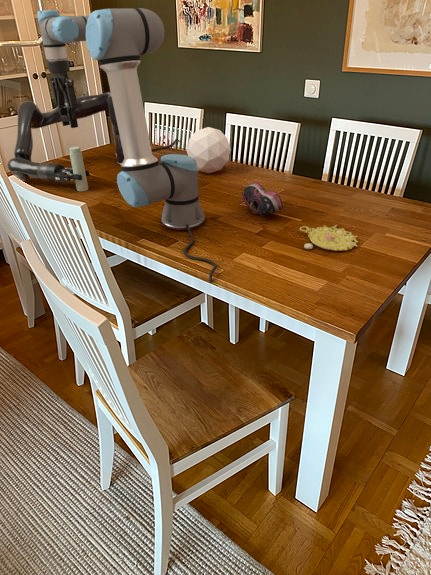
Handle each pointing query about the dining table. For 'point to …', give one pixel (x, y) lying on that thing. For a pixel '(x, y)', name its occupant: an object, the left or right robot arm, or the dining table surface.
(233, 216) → the dining table surface
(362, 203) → the dining table surface
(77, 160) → the pale green capped tube
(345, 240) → the decorative object
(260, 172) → the dining table surface
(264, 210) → the athletic shoe
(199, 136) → the sphere
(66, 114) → the lid
